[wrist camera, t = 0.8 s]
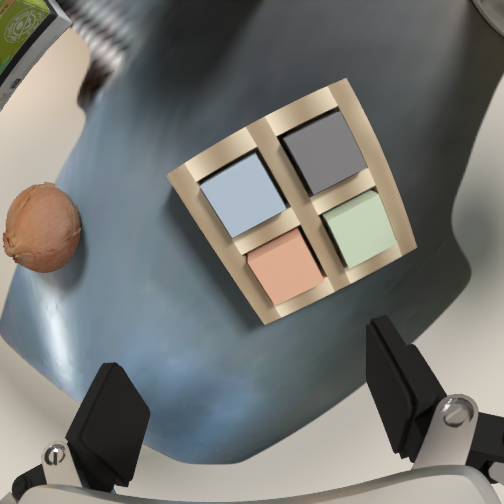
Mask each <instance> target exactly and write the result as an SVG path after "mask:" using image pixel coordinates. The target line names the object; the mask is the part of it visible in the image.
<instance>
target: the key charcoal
mask: <svg viewBox="0 0 504 504" xmlns="http://www.w3.org/2000/svg"><path fill="white" fill-rule="evenodd" d="M281 139H282V141H283V143H284V144H285V146H286V148H287V150H288V152H289V153H290V155H291V157H292V159H293V161H294V163H295V164H296V166H297V168H298V170H299V172H300V174H301V176H302V177H303V179H304V181H305V183H306V185H307V187H308V188H309V190H310V191H311V192H312V193H313V194H316V193H318V192H320V191H322V190H324V189H326V188H328V187H330V186H332V185H334V184H336V183H338V182H340V181H342V180H343V179H345V178H347V177H349V176H351V175H353V174H355V173H357V172H359V171H361V170H363V169H365V168H367V165H366V163H365V161H364V159H363V157H362V154H361V152H360V150H359V148H358V146H357V144H356V142H355V140H354V137H353V135H352V133H351V131H350V129H349V127H348V125H347V123H346V121H345V119H344V118H343V116H342V114H341V112H340V111H339V112H334V113H330V114H328V115H326V116H324V117H322V118H320V119H318V120H316V121H314V122H312V123H310V124H308V125H306V126H304V127H302V128H300V129H298V130H296V131H294V132H292V133H290V134H288V135H286V136H284V137H282V138H281Z"/></svg>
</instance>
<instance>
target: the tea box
mask: <svg viewBox="0 0 504 504" xmlns="http://www.w3.org/2000/svg"><path fill="white" fill-rule="evenodd" d="M71 25H72V21H71V20H70V19H69V17H68V16H67V15H66V14H65V13H64V11H63V10H62V9H61V7H60V6H59V5H58V3H57V2H56V1H55V0H0V111H1V110H2V109H3V107H4V105H5V104H6V102H7V101H8V99H9V98H10V97H11V95H12V94H13V92H14V91H15V89H16V88H17V87H18V85H19V84H20V83H21V82H22V80H23V79H24V78H25V76H26V75H27V74H28V72H29V71H30V70H31V69H32V67H33V66H34V65H35V64H36V63H37V62H38V60H39V59H40V58H41V57H42V56H43V54H44V53H45V52H46V50H47V49H48V48H49V47H50V46H51V45H52V44H53V43H54V42H55V41H56V40H57V39H58V38H59V37H60V36H61V35H62V34H63V33H64V32H65V31H66V30H67V29H68V28H69V27H70V26H71Z"/></svg>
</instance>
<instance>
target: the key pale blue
mask: <svg viewBox="0 0 504 504" xmlns="http://www.w3.org/2000/svg"><path fill="white" fill-rule="evenodd" d="M200 187H201V189H202V190H203V192H204V194H205V195H206V197H207V199H208V200H209V202H210V203H211V205H212V207H213V208H214V210H215V211H216V213H217V215H218V216H219V218H220V219H221V221H222V223H223V224H224V226H225V227H226V229H227V231H228V232H229V234H230V235H231V237H232V238H233V237H235V236H237V235H239V234H241V233H243V232H245V231H246V230H248V229H250V228H252V227H254V226H256V225H258V224H260V223H261V222H263V221H265V220H267V219H269V218H271V217H273V216H275V215H276V214H278V213H280V212H282V211H284V210H286V207H285V204H284V202H283V199H282V198H281V196H280V194H279V192H278V190H277V189H276V187H275V185H274V183H273V182H272V180H271V178H270V176H269V174H268V173H267V171H266V169H265V167H264V166H263V164H262V162H261V161H260V159H259V157H258V155H257V154H256V152H254V153H252V154H250V155H249V156H247V157H245V158H243V159H241V160H240V161H238V162H236V163H234V164H233V165H231V166H229V167H227V168H226V169H224V170H222V171H220V172H219V173H217V174H215V175H214V176H212V177H210V178H209V179H207V180H206V181H205V182H204V183H203V184H202V185H201V186H200Z"/></svg>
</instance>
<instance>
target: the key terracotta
mask: <svg viewBox="0 0 504 504" xmlns="http://www.w3.org/2000/svg"><path fill="white" fill-rule="evenodd" d="M248 264H249V266H250V267H251V269H252V270H253V272H254V273H255V275H256V277H257V278H258V280H259V281H260V283H261V285H262V286H263V288H264V289H265V291H266V292H267V294H268V296H269V297H270V299H271V300H272V302H273V303H274V305H275V306H276V305H278V304H280V303H282V302H284V301H286V300H288V299H291V298H293V297H295V296H297V295H299V294H301V293H303V292H305V291H307V290H309V289H311V288H313V287H315V286H317V285H319V284H321V283H323V282H325V281H324V279H323V277H322V274H321V272H320V270H319V267H318V265H317V263H316V261H315V259H314V258H313V256H312V254H311V252H310V250H309V248H308V246H307V244H306V242H305V240H304V238H303V236H302V235H301V233H300V231H299V229H298V227H297V226H296V227H295V228H293V229H291V230H289V231H287V232H285V233H283V234H281V235H279V236H277V237H275V238H273V239H272V240H270V241H268V242H266V243H264V244H262V245H260V246H258V247H256V248H254V249H252V250H250V251H249V252H248Z"/></svg>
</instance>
